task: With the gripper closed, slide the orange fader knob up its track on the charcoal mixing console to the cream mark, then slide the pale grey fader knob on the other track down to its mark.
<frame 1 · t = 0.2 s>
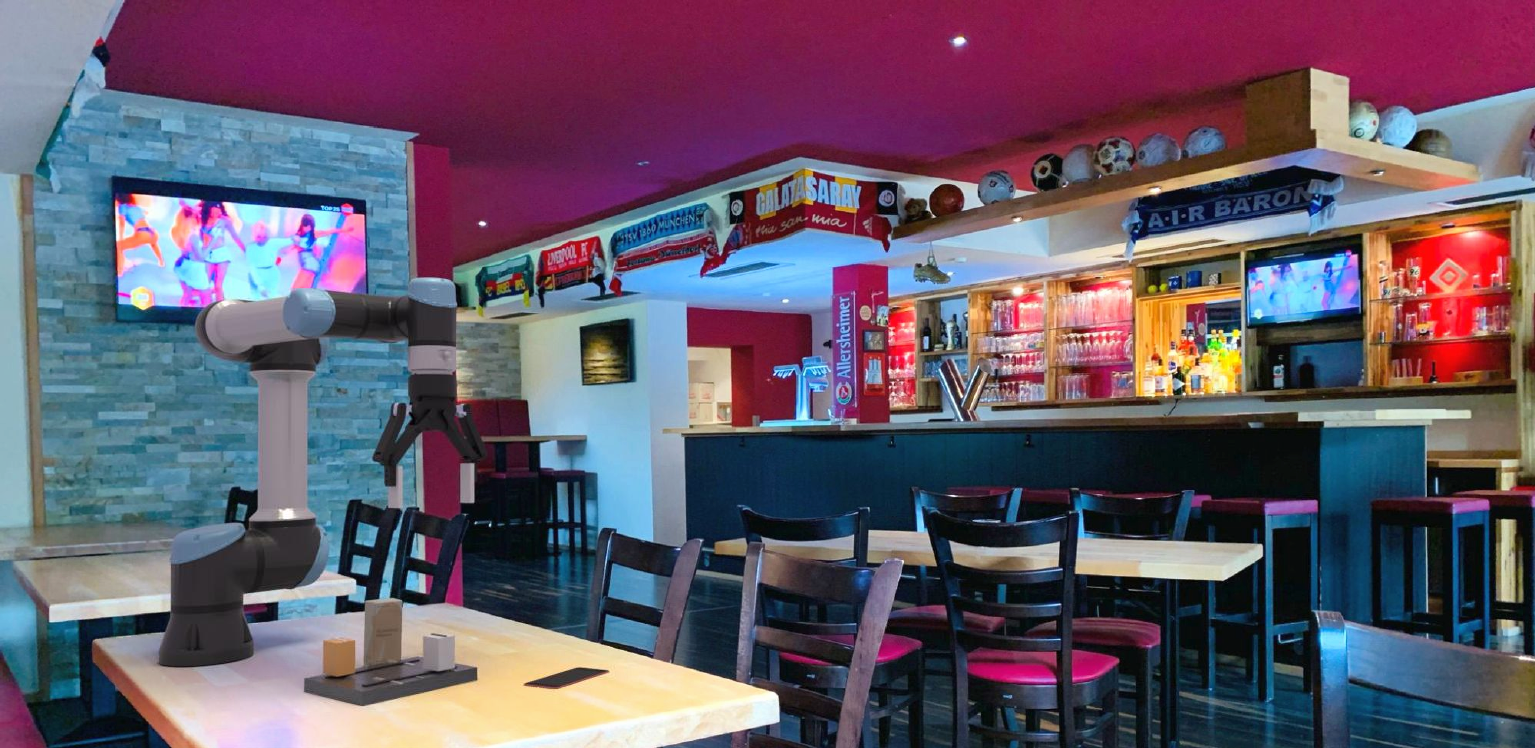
hand: (432, 505, 177), 28 cm above the table, fingers open, 13 cm apart
console: (392, 685, 171), on the table
smartphone: (567, 681, 174), on the table
fader grey: (438, 651, 172), point 5 cm above the table, slide at 5.0 cm
box: (382, 666, 187), on the table
fader orange: (339, 655, 170), point 5 cm above the table, slide at -6.0 cm
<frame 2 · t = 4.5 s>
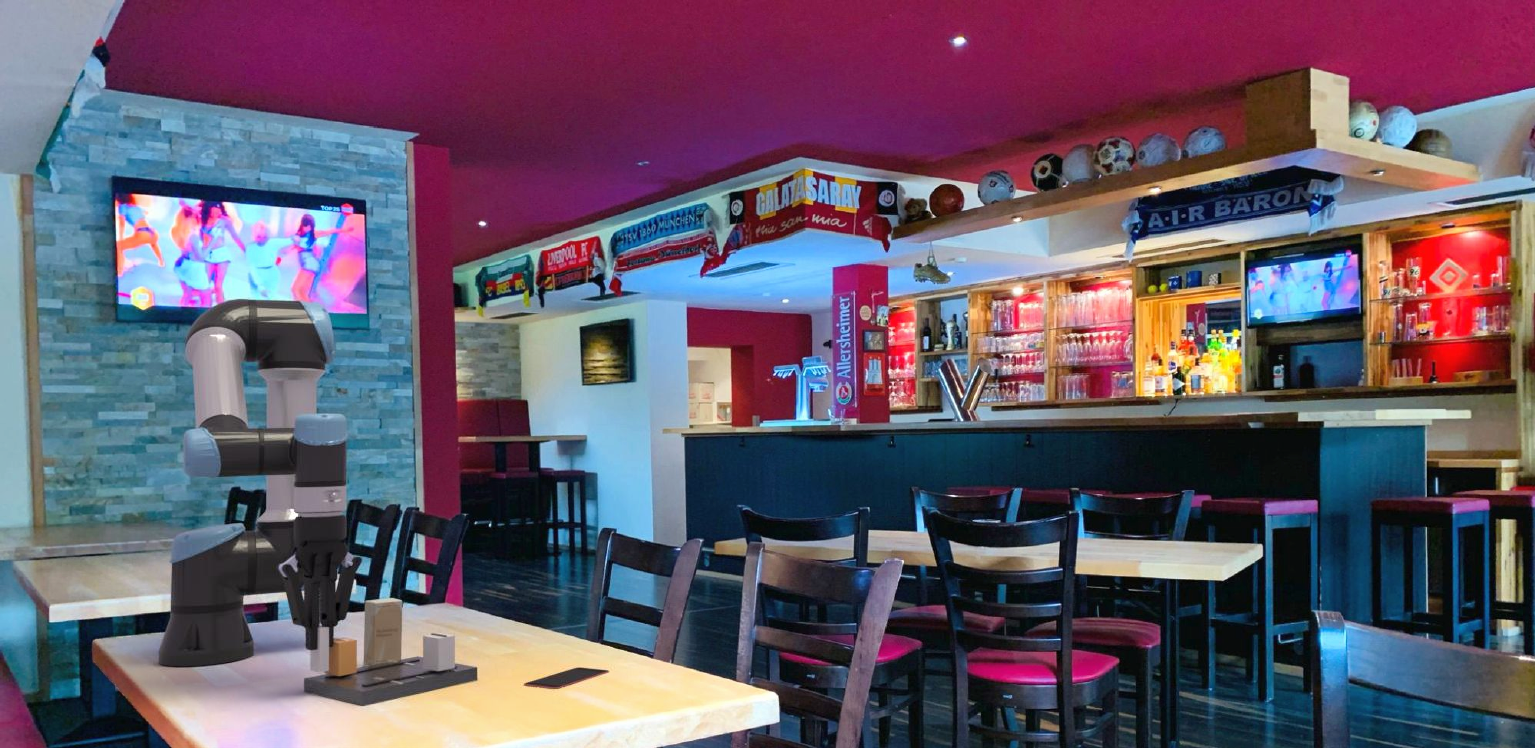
hand: (319, 670, 167), 3 cm above the table, fingers closed
fader orange: (340, 655, 170), point 5 cm above the table, slide at -5.7 cm, touching gripper
everything else where it was.
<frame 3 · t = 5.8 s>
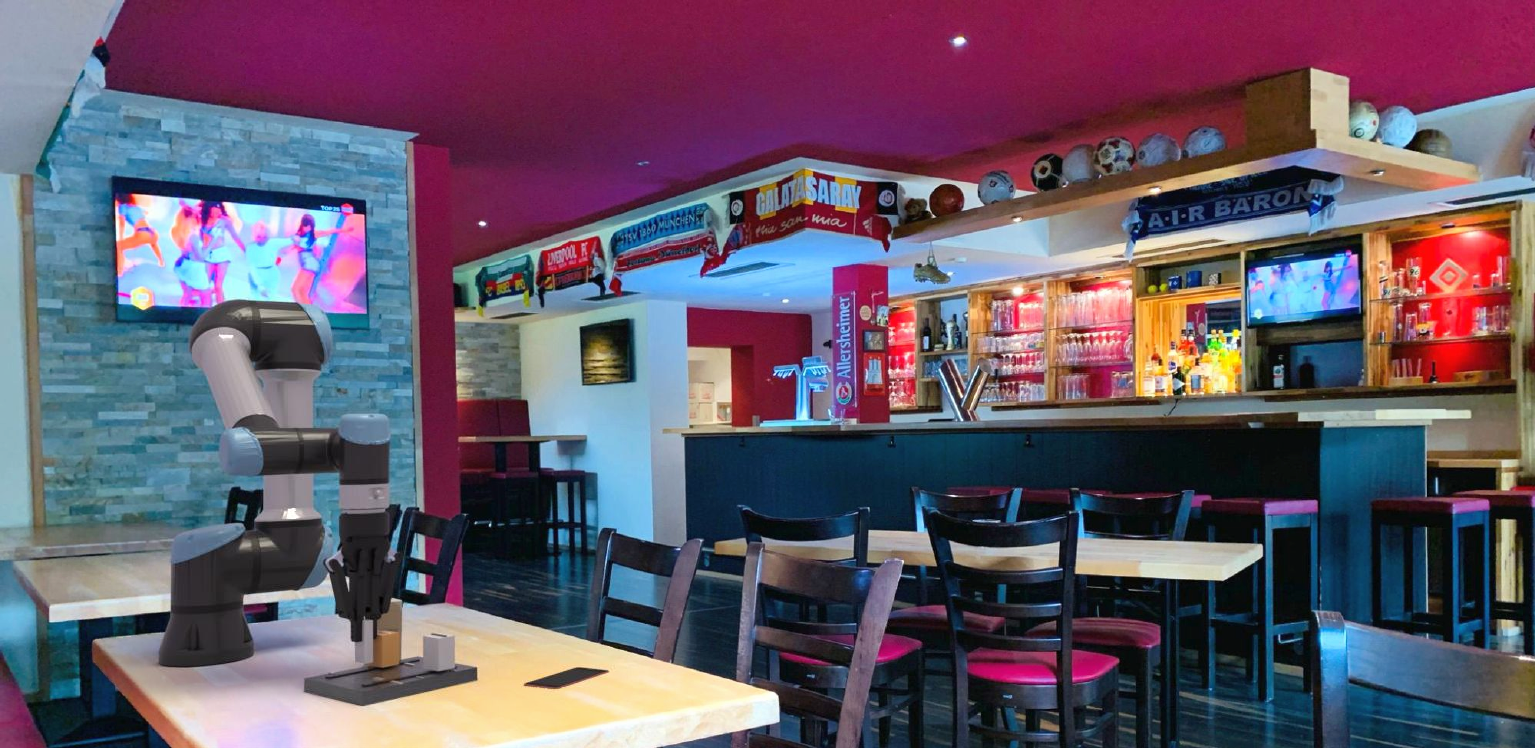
hand: (363, 661, 173), 3 cm above the table, fingers closed
fader orange: (383, 647, 176), point 5 cm above the table, slide at 1.7 cm, touching gripper
everything else where it was.
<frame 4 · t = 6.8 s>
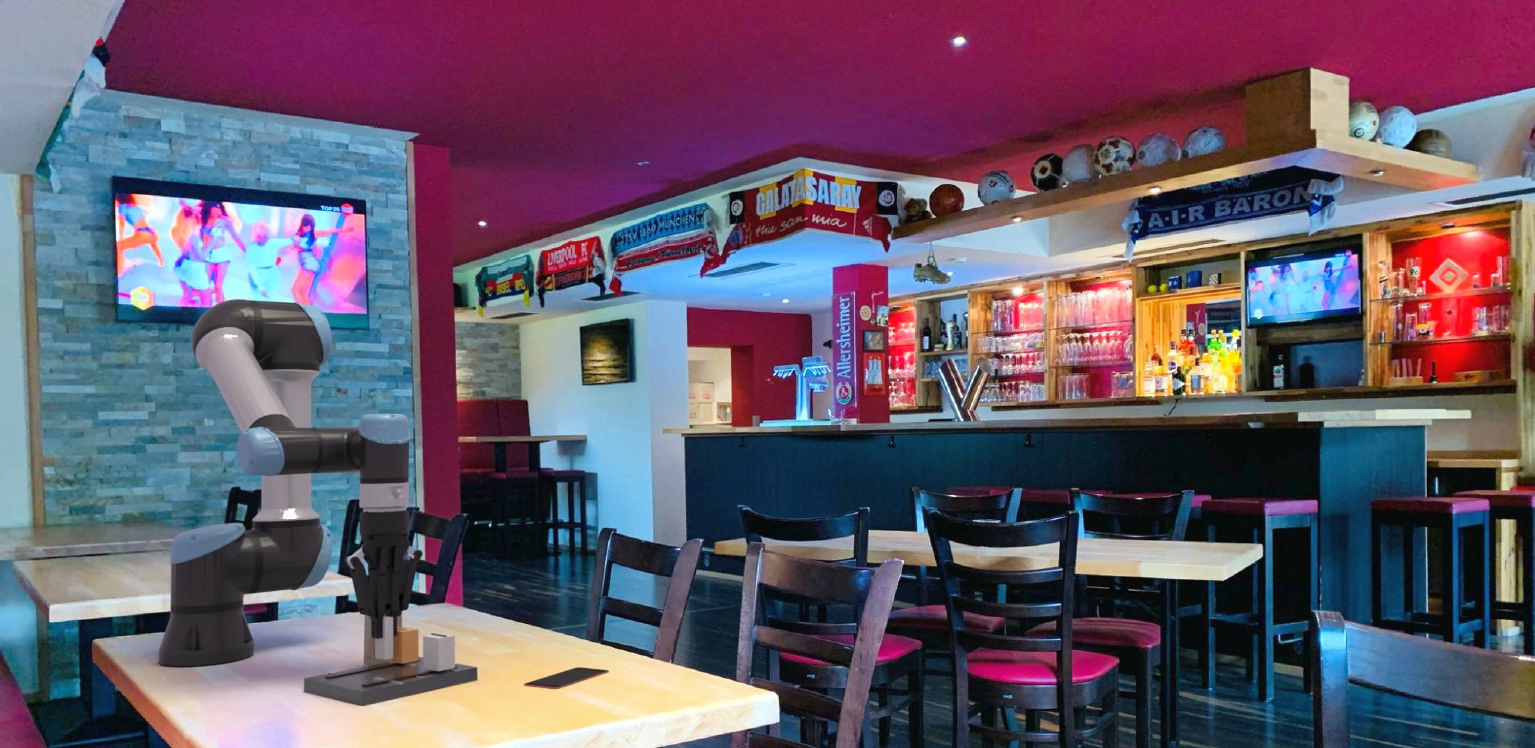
hand: (384, 657, 176), 3 cm above the table, fingers closed
fader orange: (403, 644, 179), point 5 cm above the table, slide at 5.3 cm, touching gripper
everything else where it was.
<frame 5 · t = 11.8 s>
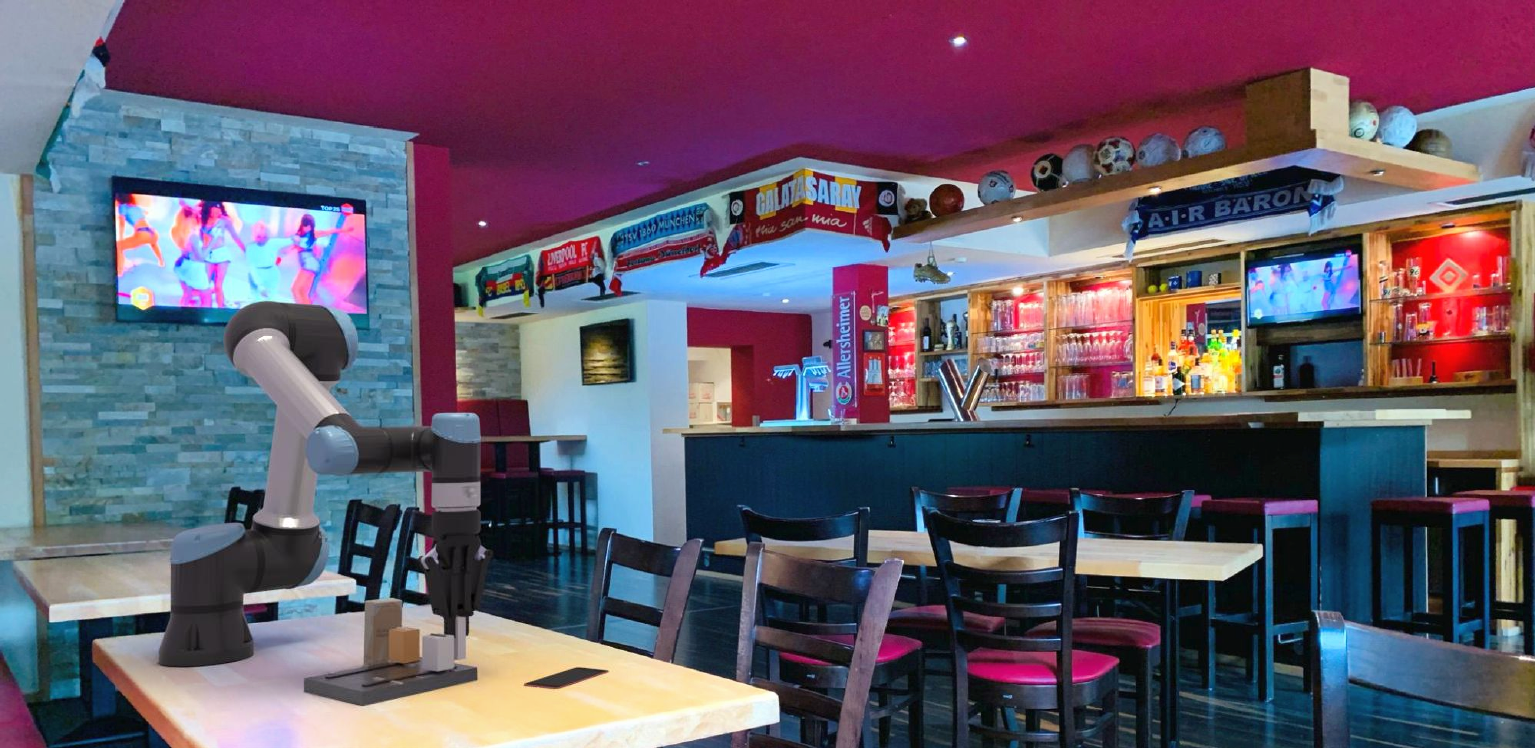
hand: (456, 658, 175), 3 cm above the table, fingers closed
fader grey: (438, 651, 172), point 5 cm above the table, slide at 4.8 cm, touching gripper
fader orange: (404, 644, 179), point 5 cm above the table, slide at 5.5 cm
everything else where it was.
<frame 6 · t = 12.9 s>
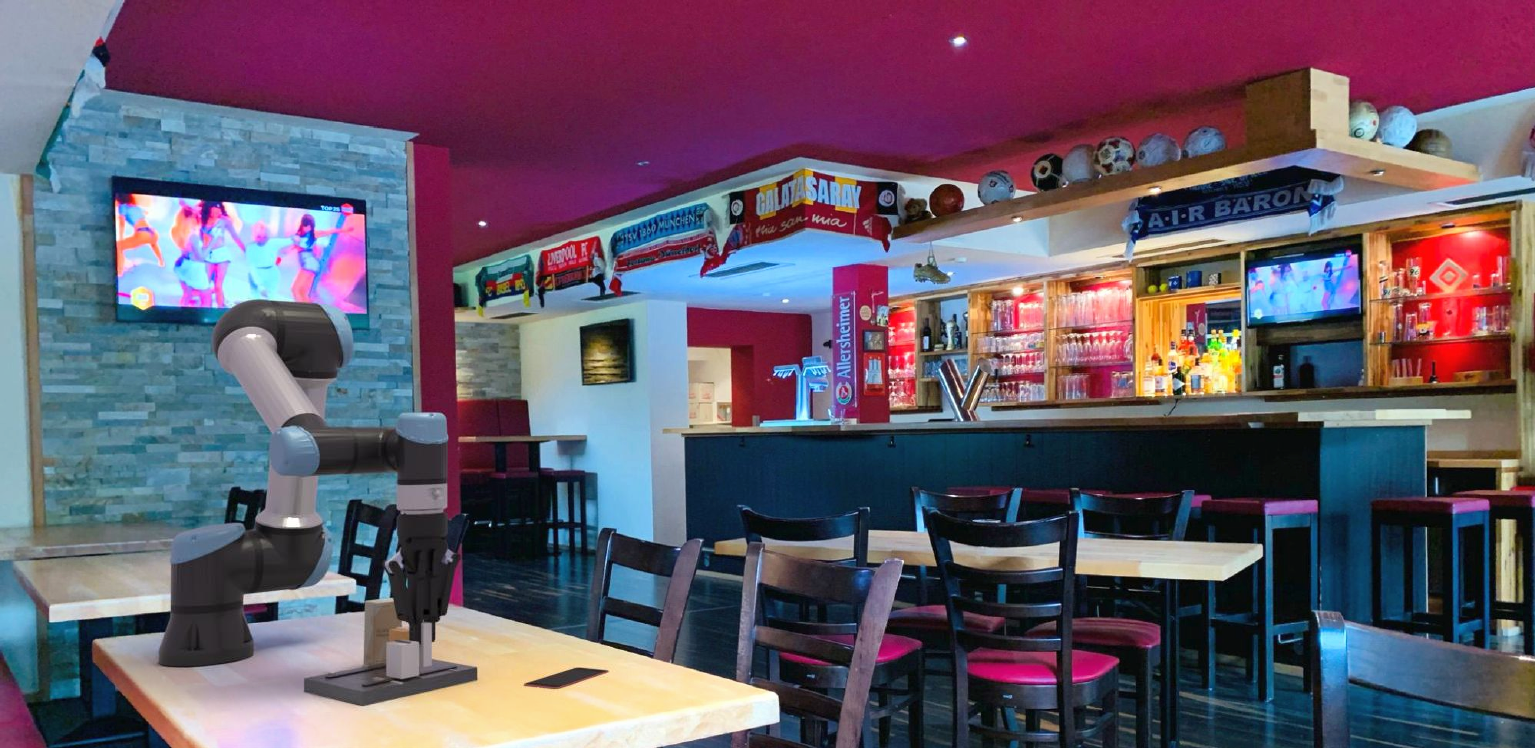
hand: (422, 665, 170), 3 cm above the table, fingers closed
fader grey: (402, 658, 167), point 5 cm above the table, slide at -1.5 cm, touching gripper
everything else where it was.
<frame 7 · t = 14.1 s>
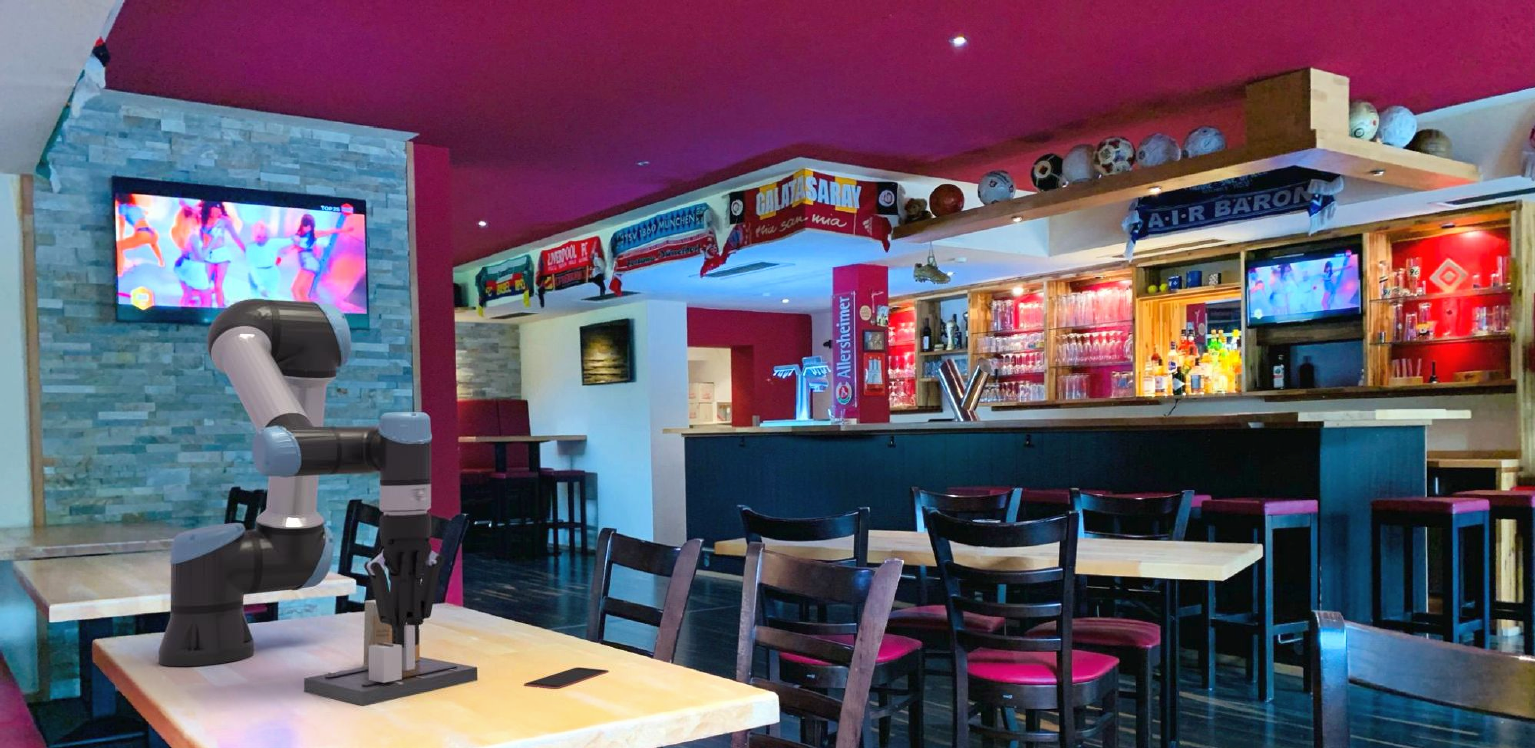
hand: (405, 668, 167), 3 cm above the table, fingers closed
fader grey: (385, 661, 165), point 5 cm above the table, slide at -4.4 cm, touching gripper
everything else where it was.
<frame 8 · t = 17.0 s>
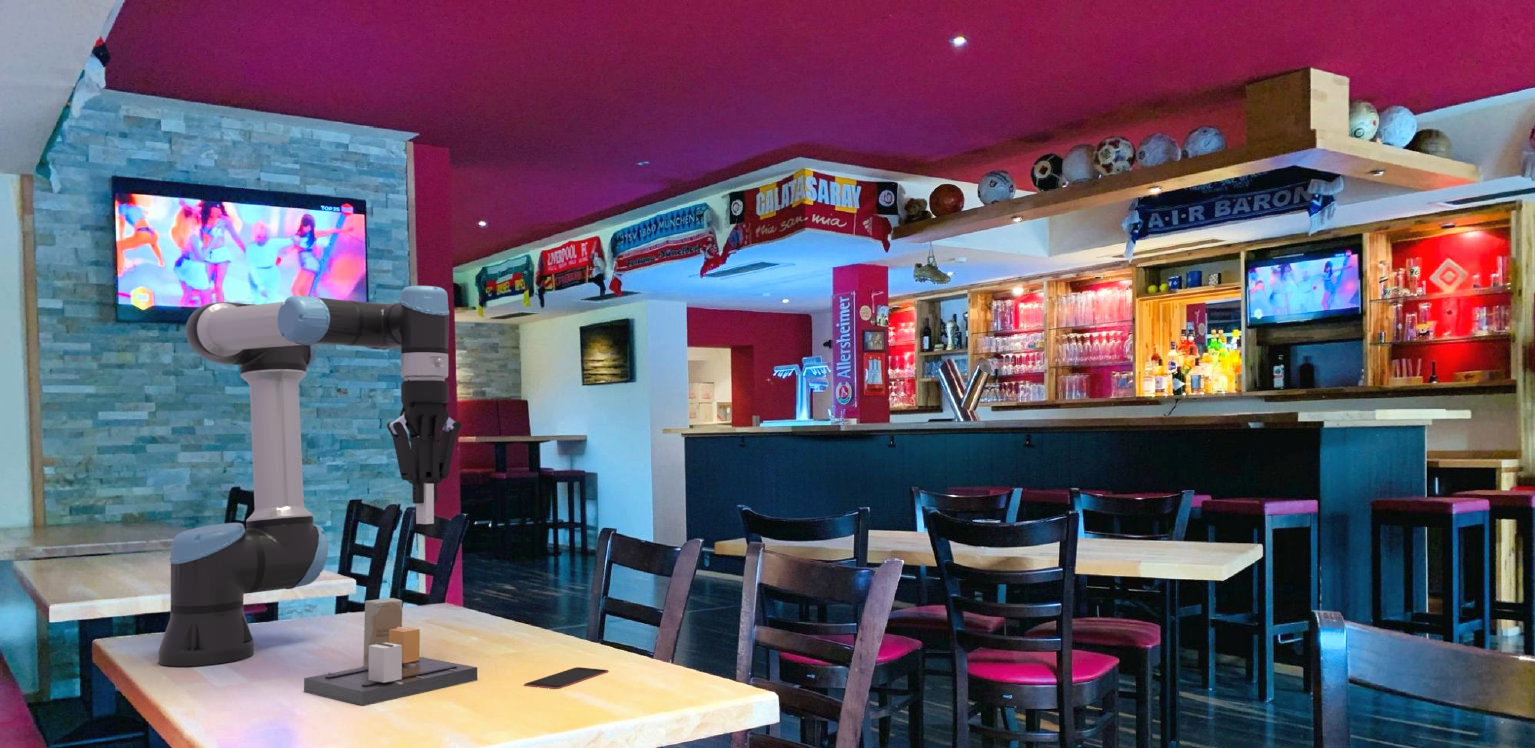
hand: (425, 523, 181), 24 cm above the table, fingers closed
fader grey: (385, 661, 165), point 5 cm above the table, slide at -4.5 cm
everything else where it was.
at the end: fader orange slide at 5.5 cm; fader grey slide at -4.5 cm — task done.
